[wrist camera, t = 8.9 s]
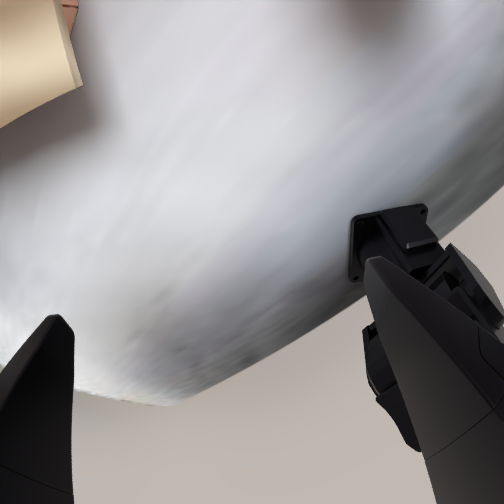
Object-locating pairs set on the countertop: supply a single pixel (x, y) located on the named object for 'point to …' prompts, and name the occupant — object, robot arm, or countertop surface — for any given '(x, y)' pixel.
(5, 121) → the board
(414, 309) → the robot arm
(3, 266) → the countertop surface
